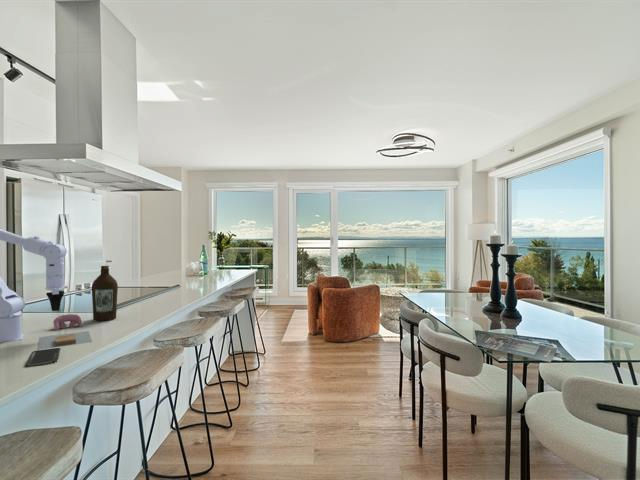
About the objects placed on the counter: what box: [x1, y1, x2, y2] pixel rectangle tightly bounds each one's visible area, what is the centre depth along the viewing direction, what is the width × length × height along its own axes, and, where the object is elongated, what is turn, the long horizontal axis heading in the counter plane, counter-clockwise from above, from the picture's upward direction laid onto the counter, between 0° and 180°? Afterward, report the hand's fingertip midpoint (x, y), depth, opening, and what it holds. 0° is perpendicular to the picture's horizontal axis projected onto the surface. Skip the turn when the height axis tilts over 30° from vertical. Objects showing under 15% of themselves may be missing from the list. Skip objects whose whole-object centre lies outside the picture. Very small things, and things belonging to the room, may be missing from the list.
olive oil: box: [91, 265, 119, 322], centre depth 173 cm, size 11×11×25 cm
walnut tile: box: [55, 334, 76, 347], centre depth 135 cm, size 2×6×8 cm
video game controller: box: [53, 313, 83, 332], centre depth 156 cm, size 10×5×7 cm, turn 136°
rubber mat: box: [37, 330, 93, 350], centre depth 139 cm, size 18×16×1 cm
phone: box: [25, 347, 62, 368], centre depth 120 cm, size 8×1×15 cm
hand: (55, 310), depth 142 cm, fingers closed
